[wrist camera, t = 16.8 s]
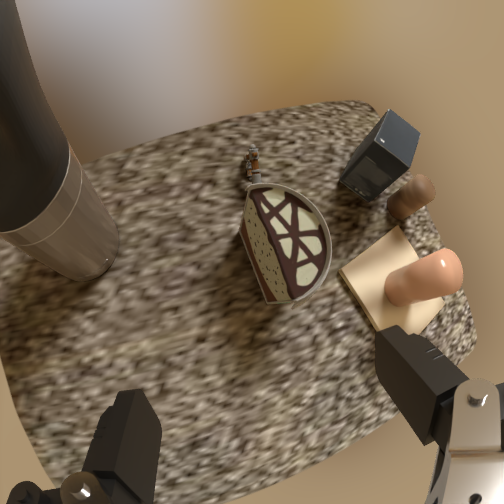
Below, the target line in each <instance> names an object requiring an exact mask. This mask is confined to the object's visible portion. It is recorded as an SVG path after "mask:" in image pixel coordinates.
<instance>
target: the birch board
mask: <svg viewBox="0 0 504 504" xmlns="http://www.w3.org/2000/svg"><path fill="white" fill-rule="evenodd" d="M417 260H419V257H418V256H417V254H416V253H415V251H414V249H413V248H412V246H411V244H410V243H409V241H408V240H407V238H406V237H405V235H404V234H403V232H402V230H401V229H400V227H399V226H398V225H397V226H395V227H394V228H393V229H391V230H390V231H389V232H388V233H386V234H385V235H384V236H383V237H381V238H380V239H379V240H377V241H376V242H375V243H374V244H372V245H371V246H370V247H368V248H367V249H366V250H365V251H363V252H362V253H361V254H359V255H358V256H357V257H355V258H354V259H353V260H351V261H350V262H349V263H347V264H346V265H345V266H343V267H342V268H341V269H339V270H338V272H339V273H340V275H341V276H342V278H343V279H344V281H345V282H346V284H347V286H348V287H349V289H350V290H351V292H352V293H353V295H354V296H355V298H356V299H357V301H358V303H359V304H360V306H361V307H362V309H363V310H364V312H365V314H366V315H367V317H368V318H369V320H370V322H371V323H372V325H373V327H374V328H375V330H376V331H380V330H383V329H386V328H388V327H391V326H394V325H399V326H400V327H401V328H402V329H403V330H404V331H405V332H406V333H407V334H408V335H410V334H413V333H415V334H417V335H419V334H420V332H421V331H422V330H423V329H424V328H425V327H426V326H427V325H428V324H429V322H430V321H431V320H432V319H433V318H434V317H435V315H436V314H437V313H438V312H439V311H440V310H441V308H442V307H443V306H444V305H445V303H444V301H443V299H442V298H441V297H438V298H435V299H431V300H427V301H423V302H419V303H415V304H411V305H407V306H403V307H397V306H395V305H393V304H392V303H391V302H390V301H389V300H388V298H387V296H386V294H385V288H384V285H385V280H386V278H387V276H388V274H389V273H391V272H392V271H394V270H397V269H399V268H401V267H404V266H406V265H408V264H410V263H413V262H415V261H417Z"/></svg>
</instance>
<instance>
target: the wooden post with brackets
mask: <svg viewBox="0 0 504 504" xmlns="http://www.w3.org/2000/svg"><path fill="white" fill-rule="evenodd" d="M248 151H249V154H248V155H245V156H244V160H247V162H248V160H250V162H251V163H250V162H248V164H247V165H248V167H247V168H246V169H245V170H247V177H249V180H250V181H252V184H256V183H262V182H261V174H259V172H260V169H259V167H258V159H259V157H258V149H255V145H250V149H249V150H248Z"/></svg>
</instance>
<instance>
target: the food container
mask: <svg viewBox="0 0 504 504" xmlns="http://www.w3.org/2000/svg"><path fill="white" fill-rule="evenodd" d="M245 191H248V193H247V197H246V202H245V206H244V210H243V215H242V219H241V223H240V228H239V233H240V236H241V238H242V241H243V243H244V246H245V249H246V251H247V254H248V256H249V259H250V262H251V264H252V267H253V270H254V272H255V275H256V277H257V280H258V283H259V285H260V288H261V290H262V293H263V296H264V298H265V301H266V303H267V304H280V303H293V302H294V303H295V304H294V305H293V307H292V310H293V309H294V308H296V307H298V306H300V305H302V304H303V303H305V302H306V301H307V300H309V299H310V298H311V297H312V296H313V294H314V293H315V292H316V291H317V290H318V289H319V287H320V286H321V284H322V283H323V281H324V280H325V278H326V275H327V273H328V271H329V267H330V264H331V257H332V242H331V236H330V232H329V229H328V226H327V223H326V221H325V220H324V218H323V216H322V214H321V213H320V211H319V210H318V209H317V207H316V206H315V205H314V204H313V203H312V202H311V201H310V200H309V199H307V198H306V197H305V196H304V195H302V194H300V193H299V192H297V191H295V190H293V189H291V188H289V187H286V186H283V185H279V184H273V183H256V184H250V185H248V186H247V187H246V189H245Z"/></svg>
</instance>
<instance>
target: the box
mask: <svg viewBox="0 0 504 504" xmlns="http://www.w3.org/2000/svg"><path fill="white" fill-rule="evenodd" d="M419 137H420V133H419V132H418V131H417V130H416V129H415V128H413V127H412V126H411V125H410V124H409V123H407V122H406V121H405V120H404V119H402V118H401V117H400V116H398V115H397V114H396V113H395V112H393V111H392V110H391V109H388V111H387V112H386V113H385V114H384V116H383V117H382V118H381V119H380V121H379V122H378V123H377V124H376V126H375V127H374V128H373V129H372V130H371V132H370V133H369V134H368V135H367V137H366V138H365V139H364V140H363V141H362V143H361V144H360V145H359V146H358V147H357V149H356V150H355V152H354V154H353V156H352V157H351V159H350V161H349V163H348V165H347V166H346V168H345V170H344V172H343V174H342V175H341V177H340V179H339V181H340V182H341V183H343V184H344V185H345V186H347V187H348V188H349V189H350V190H352V191H353V192H355V193H356V194H357V195H359V196H360V197H362V198H363V199H364V200H366V201H367V202H371V201H372V200H373V199H374V198H375V197H377V196H378V195H379V194H380V193H381V192H382V191H384V190H385V189H386V188H387V187H388V186H390V185H391V184H392V183H393V182H394V181H395V180H397V179H398V178H399V177H400V176H401V175H402V174H404V173H405V172H406V171H407V170H408V169H409V168H410V166H411V163H412V160H413V156H414V154H415V150H416V147H417V144H418V141H419Z"/></svg>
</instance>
